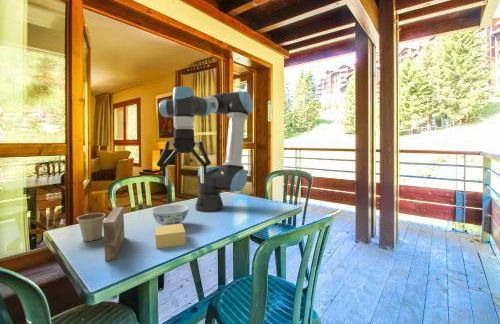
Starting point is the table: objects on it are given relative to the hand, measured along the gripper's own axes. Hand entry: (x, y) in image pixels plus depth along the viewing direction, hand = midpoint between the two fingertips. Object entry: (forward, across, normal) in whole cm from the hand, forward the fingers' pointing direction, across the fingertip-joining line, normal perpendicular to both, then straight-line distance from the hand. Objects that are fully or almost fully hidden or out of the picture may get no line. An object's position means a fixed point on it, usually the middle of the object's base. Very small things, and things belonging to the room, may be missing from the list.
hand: (184, 184), depth 101 cm
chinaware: (+20, +4, -14) cm, 25 cm away
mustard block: (+21, +6, +4) cm, 22 cm away
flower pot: (+21, +33, -12) cm, 41 cm away
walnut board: (+20, +24, +2) cm, 32 cm away
